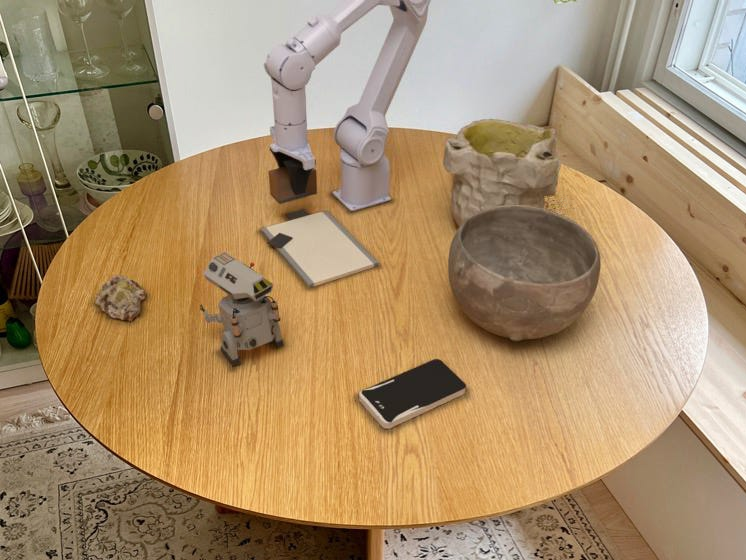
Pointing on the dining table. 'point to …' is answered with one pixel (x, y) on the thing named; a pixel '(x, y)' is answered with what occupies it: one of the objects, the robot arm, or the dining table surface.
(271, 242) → the dark grey tile
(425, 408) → the smartphone
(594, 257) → the bowl
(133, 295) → the mineral rock
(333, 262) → the whiteboard
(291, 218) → the charcoal rectangular plate
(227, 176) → the dining table surface
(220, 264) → the figurine
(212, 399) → the dining table surface
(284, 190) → the brown rectangular block
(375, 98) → the robot arm
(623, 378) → the dining table surface
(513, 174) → the ceramic vessel
